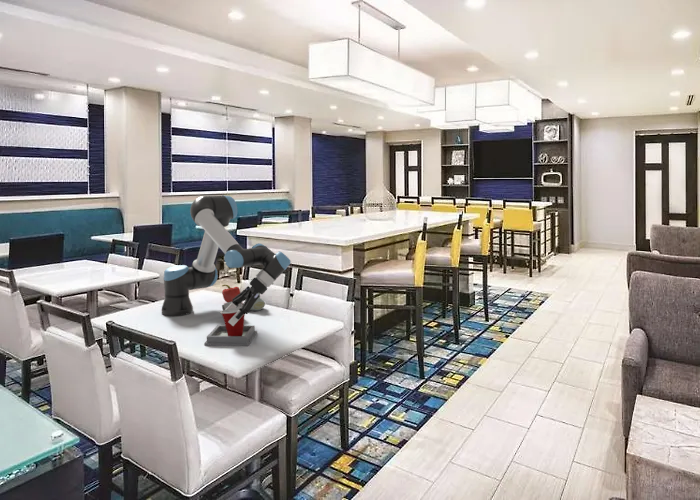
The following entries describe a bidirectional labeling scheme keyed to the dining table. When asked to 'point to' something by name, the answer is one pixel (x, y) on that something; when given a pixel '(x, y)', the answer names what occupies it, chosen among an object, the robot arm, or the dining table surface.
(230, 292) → the vegetable
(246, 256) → the robot arm
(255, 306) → the air freshener
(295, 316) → the dining table surface
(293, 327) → the dining table surface
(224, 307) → the electrical switch
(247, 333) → the pocket tray
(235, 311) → the plastic cup
